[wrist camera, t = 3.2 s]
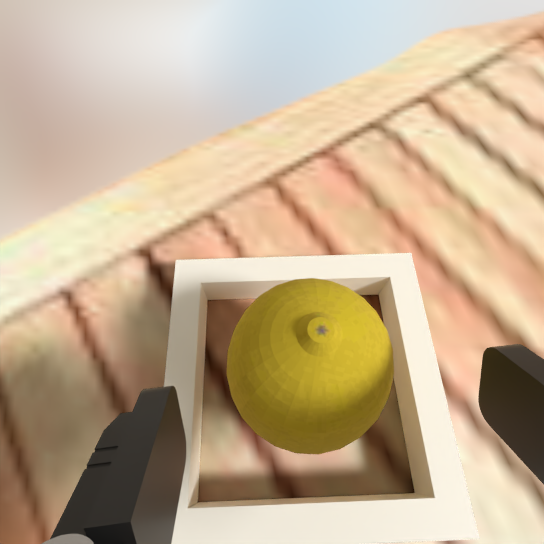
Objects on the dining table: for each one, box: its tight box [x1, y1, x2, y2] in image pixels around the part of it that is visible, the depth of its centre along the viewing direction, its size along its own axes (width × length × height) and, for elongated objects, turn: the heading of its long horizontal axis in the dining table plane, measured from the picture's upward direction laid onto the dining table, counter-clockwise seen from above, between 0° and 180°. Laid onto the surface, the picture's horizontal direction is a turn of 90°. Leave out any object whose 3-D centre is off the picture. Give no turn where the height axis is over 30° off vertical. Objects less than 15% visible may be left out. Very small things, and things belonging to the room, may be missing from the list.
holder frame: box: [164, 253, 480, 544], centre depth 15 cm, size 11×11×2 cm
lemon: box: [227, 278, 394, 454], centre depth 13 cm, size 6×6×8 cm
